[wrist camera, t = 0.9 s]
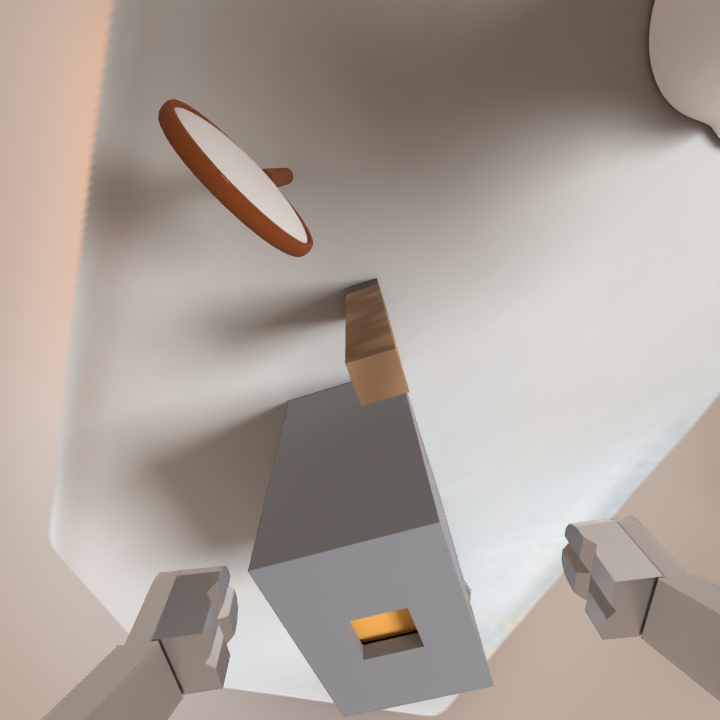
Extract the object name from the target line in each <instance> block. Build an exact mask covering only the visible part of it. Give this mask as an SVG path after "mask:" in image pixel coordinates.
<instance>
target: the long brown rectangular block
mask: <svg viewBox="0 0 720 720" xmlns="http://www.w3.org/2000/svg"><path fill="white" fill-rule="evenodd" d="M345 364H346V367H347V369H348V372H349V374H350V377H351V380H352V382H353V385H354V388H355V390H356V393H357V395H358V398H359V401H360V403H361V406H363V405H367V404H370V403H373V402H377V401H380V400H384V399H387V398H390V397H394V396H397V395H401V394H404V393H407V392H409V389H408V386H407V382H406V378H405V375H404V371H403V368H402V364H401V360H400V357H399V353H398V350H397V346H396V343H395V339H394V335H393V332H392V328H391V325H390V321H389V317H388V314H387V310H386V307H385V304H384V300H383V297H382V294H381V291H380V287H379V284H378V281H377V278H376V279H373V280H370V281H367V282H364V283H361V284H358V285H355V286H352V287H349V288H346V354H345Z"/></svg>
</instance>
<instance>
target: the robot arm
mask: <svg viewBox="0 0 720 720" xmlns="http://www.w3.org/2000/svg"><path fill="white" fill-rule="evenodd" d="M649 54H650V62H651V67H652V71H653V75H654V78H655V80H656V83H657V85H658V87H659V89H660V91H661V93H662V94H663V96H664V97H665V99H666V100H667V101H668V102H669V103H670V104H671V105H672V106H673V107H674V108H675V109H676V110H678V111H679V112H680V113H682V114H684V115H686V116H688V117H690V118H693V119H695V120H698V121H701V122H703V123H705V124H707V125H709V126H711V127H712V129H713V130H714V132H715V133H716V134H717V136H718V137H719V138H720V0H655V2H654V6H653V11H652V16H651V22H650V31H649ZM565 537H566V539H567V540H568V542H569V543H568V544H567V546H566V547H565V548H564V549H563V552H562V564H563V569H564V573H565V575H566V578H567V580H568V582H569V584H570V586H571V588H572V589H573V591H574V592H575V593H576V594H578V595H579V596H580V597H582V598H583V599H585V600H586V606H585V611H586V613H587V615H588V616H589V618H590V620H591V621H592V623H593V624H594V626H595V628H596V630H597V631H598V633H599V635H600V636H601V638H602V639H615V638H624V637H635V636H642V637H641V638H642V639H643V640H644V641H645V642H647V643H648V644H649V645H650V646H652V647H653V648H654V649H655V650H657V651H658V652H659V653H660V654H662V655H663V656H664V657H665V658H667V659H668V660H669V661H670V662H672V663H673V664H674V665H675V666H676V667H678V668H679V669H680V670H681V671H683V672H684V673H685V674H687V675H688V676H689V677H691V679H693V680H694V681H695V682H696V683H698V684H699V685H700V686H701V687H703V688H704V689H705V690H706V691H708V692H709V693H710V694H711V695H713V696H714V697H715V698H716V699H718V700H719V701H720V586H718V585H717V584H715V583H712V582H711V581H709V580H707V579H705V578H703V577H701V576H699V575H698V574H688V572H686V570H685V569H684V568H683V567H682V566H681V565H680V564H679V563H678V562H677V561H676V560H675V558H674V557H673V556H672V555H671V554H670V553H669V552H668V551H667V550H666V549H665V548H664V547H663V545H662V544H661V543H660V542H659V541H658V540H657V539H656V538H655V537H654V536H653V535H652V534H651V533H650V532H649V530H648V529H647V528H646V527H645V526H644V525H643V524H642V523H641V522H640V521H639V520H638V519H637V518H635V517H633V516H628V517H620V518H611V519H601V520H594V521H586V522H579V523H571V524H569V525H568V526H567V527H566V531H565ZM229 580H230V574H229V571H228V568H227V567H226V566H221V567H210V568H199V569H189V570H181V571H171V572H161V573H159V574H158V576H157V577H156V578H155V579H154V581H153V583H152V585H151V588H150V590H149V592H148V594H147V596H146V599H145V601H144V603H143V605H142V608H141V610H140V612H139V614H138V616H137V619H136V621H135V623H134V625H133V628H132V630H131V632H130V634H129V637H128V639H127V641H126V643H125V645H118V646H117V647H116V648H115V649H114V650H113V651H112V652H111V653H110V654H109V655H108V656H107V657H106V658H105V659H104V660H103V661H101V662H100V663H99V664H98V665H97V666H96V667H95V668H94V669H93V670H92V671H91V672H90V673H89V674H88V675H87V676H86V677H85V678H84V679H83V680H82V681H81V682H80V683H79V684H78V685H77V686H76V687H75V688H74V689H72V690H71V691H70V692H69V693H68V694H67V695H66V696H65V697H64V698H63V699H62V700H61V701H60V702H59V703H58V704H57V705H56V706H55V707H54V708H53V709H52V710H51V711H50V712H49V713H48V714H47V715H46V716H45V717H43V718H42V720H168V718H169V717H170V715H171V714H172V713H173V711H174V710H175V708H176V707H177V705H178V704H179V703H180V701H181V700H182V698H183V695H184V694H190V693H197V692H203V691H209V690H215V689H221V688H223V685H224V681H225V676H226V672H227V667H228V662H229V658H230V654H229V651H228V648H227V645H226V644H227V643H228V642H229V641H230V639H231V638H232V637H233V636H234V634H235V629H236V624H237V613H238V604H237V597H236V593H235V590H234V589H233V588H231V587H230V586H228V584H229Z"/></svg>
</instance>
